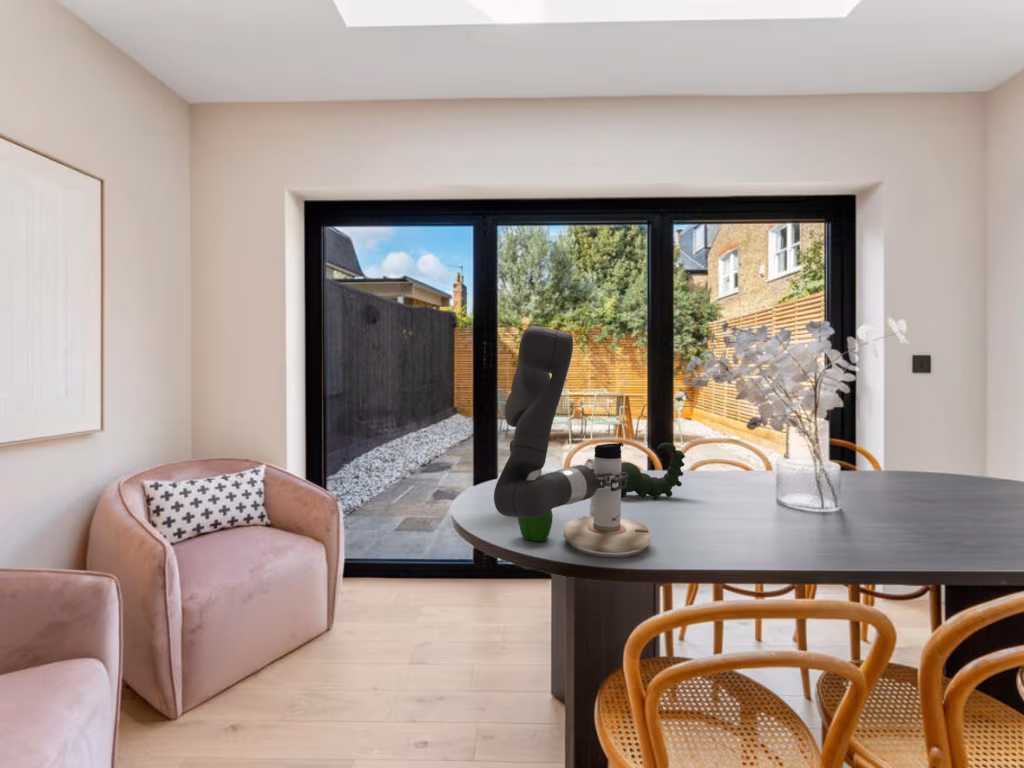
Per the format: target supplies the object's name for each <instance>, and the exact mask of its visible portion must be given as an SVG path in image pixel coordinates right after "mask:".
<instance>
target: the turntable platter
mask: <svg viewBox="0 0 1024 768" xmlns="http://www.w3.org/2000/svg"><path fill="white" fill-rule="evenodd" d="M593 521H594V520H593V517H590V516H588V517H583V516H582V517H578V518H577V517H576V518H574V519H570V520H568V521H567V522H565V523H564V525H563V538H564V540H566V541H567V542H568V543H569V544H570V543H572V544H574V545H576V546H579V547H582V548H586V549H591V550H596V551H605V552H627V551H634V550H639V549H642V548H643V549H645V548H646V547H649V545H650V544H651V537H652V536H651V535H652V534H651V529H650V528H649V527H648V526H646V525H645V524H643V523H640V522H638V521H635V520H631V519H627V518H622V517H621V521H620V529H619V530H618V531H613V532H606V531H600V530H597V529H595V528H594V527H593Z"/></svg>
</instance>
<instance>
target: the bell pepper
mask: <svg viewBox="0 0 1024 768" xmlns="http://www.w3.org/2000/svg"><path fill="white" fill-rule="evenodd" d="M553 516H554V515H553V511H552V509H551V510H550V511H549V512H547V513H546V514H545V515H543V516H540V517H536V518H521V517H517V518H518V519H517V520H518V521H517V522H518V525H519V529H520V534H521V536H522V537H523V539H524V540H528V541H529V540H531V541H533V542H544V541H546V540H547V539H548V537H549V535H550V532H551V529H552V524H553Z"/></svg>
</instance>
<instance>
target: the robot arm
mask: <svg viewBox="0 0 1024 768" xmlns="http://www.w3.org/2000/svg"><path fill="white" fill-rule="evenodd" d="M519 341H520V342H519V347H518V355H517V366H516V369H515V372H514V375H513V378H512V383H511V388H510V392H509V394H508V396H507V399H506V401H505V406H504V419H505V421H506V423H507V424H508V426H509V427H512V428H515V429H514V430H515V431H514V435H513V440H511V441H510V443H509V457H508V459H507V461H506V463H505V464H504V467H503V469H502V471H501V474H500V476H499V477H498V480H497V482H496V484H495V487H494V491H493V502H494V505H495V509H496V511H497V512H498V513H499V514H501V515H502V516H505V517H511V518H518V517H521V518H536V517H540V516H543V515H545V514H546V513H547V512H549V511H550V510H551V511H552V510H553V509H555V508H558V507H561V506H567V505H572V504H575V503H579V502H583V501H585V500H590V498H591V497H592V496H593V495H594V494H595V492H596V491H597V490H601V489H607V488H611V491H617V490H620V489H622V488H625V487H626V482H627V481H628V473H627V472H622V473H618V474H612V473H609V472H601V473H600V472H594V469H590V468H589V467H587V466H585V464H578V465H574V466H570V467H565V468H561V469H558V470H556V471H552V472H548V473H545V474H542V472H543V471H542V470H543V468H544V466H545V463H546V460H547V454H548V448H549V443H550V437H551V433H552V427H553V423H554V419H555V416H556V412H557V409H558V407H559V403H560V400H561V396H562V393H563V390H564V386H565V382H566V379H567V376H568V373H569V368H570V366H571V361H572V356H573V349H574V339H573V336H572V334H571V333H569V332H566V331H563V330H559V329H558V330H557V329H553V328H549V327H543V326H538V325H531V326H528V327H527V328H526V329H525V330H524V332H523V333H522V336H521V338H520V340H519ZM550 374H551V376H550ZM605 476H607V481H606V478H605ZM613 477H615V478H613Z"/></svg>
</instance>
